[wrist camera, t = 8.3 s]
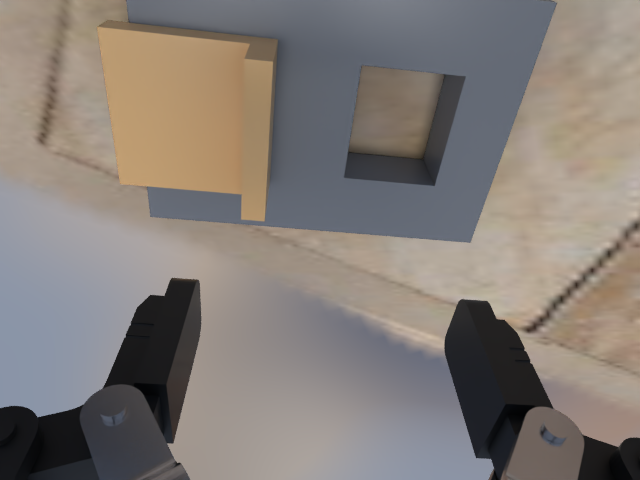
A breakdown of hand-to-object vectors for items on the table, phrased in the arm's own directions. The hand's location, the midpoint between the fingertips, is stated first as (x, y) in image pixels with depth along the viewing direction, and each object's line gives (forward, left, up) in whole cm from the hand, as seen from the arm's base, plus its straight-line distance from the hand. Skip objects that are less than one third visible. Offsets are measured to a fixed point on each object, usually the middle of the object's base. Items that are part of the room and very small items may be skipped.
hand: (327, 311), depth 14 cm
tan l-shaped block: (0, -6, -14) cm, 16 cm away
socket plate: (0, 0, -18) cm, 18 cm away
